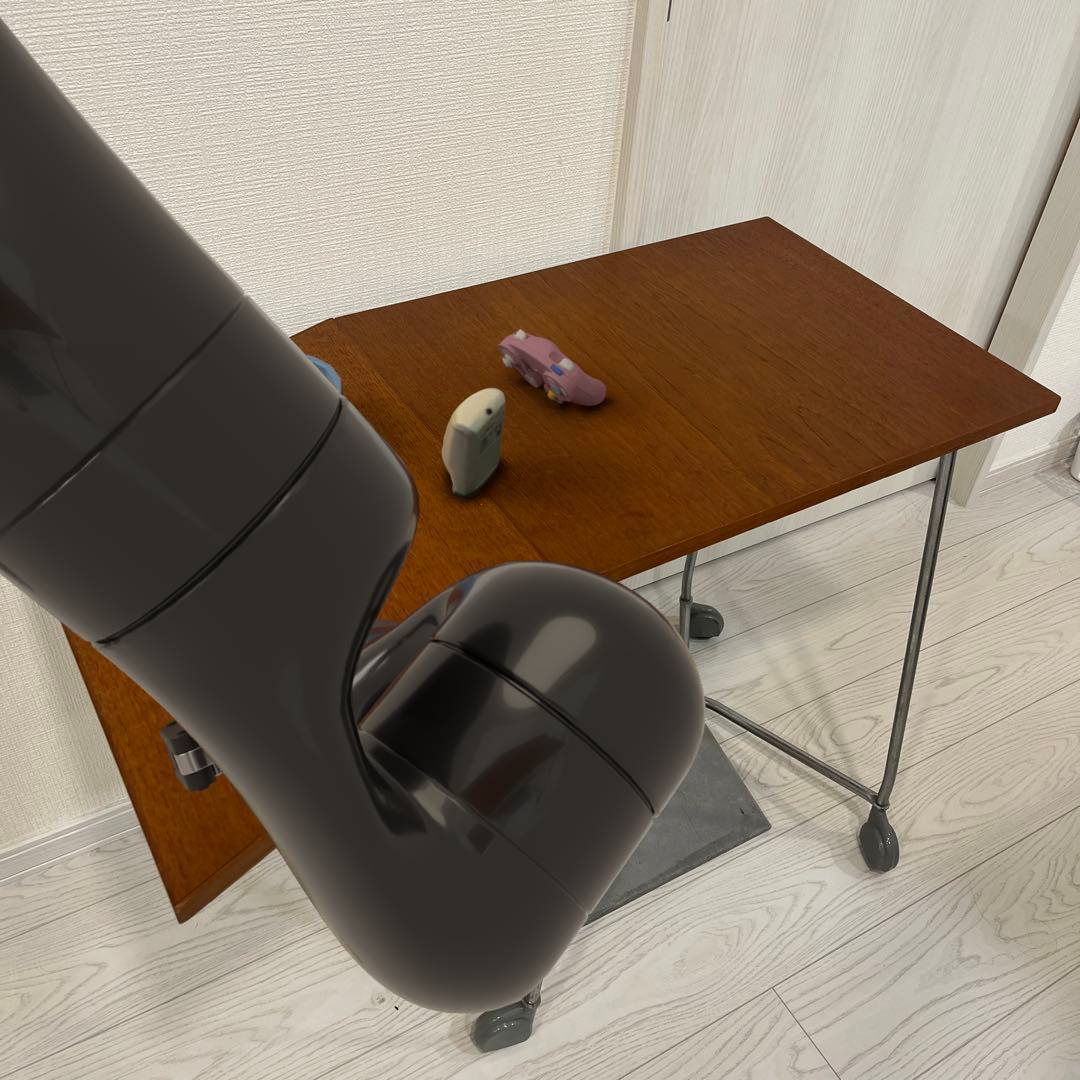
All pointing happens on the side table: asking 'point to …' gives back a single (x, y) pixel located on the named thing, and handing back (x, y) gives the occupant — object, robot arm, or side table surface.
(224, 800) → the side table surface
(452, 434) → the cream rounded block
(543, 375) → the video game controller
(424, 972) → the robot arm
